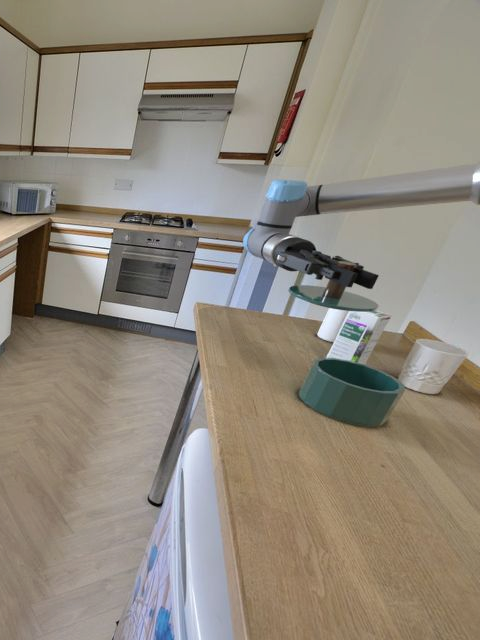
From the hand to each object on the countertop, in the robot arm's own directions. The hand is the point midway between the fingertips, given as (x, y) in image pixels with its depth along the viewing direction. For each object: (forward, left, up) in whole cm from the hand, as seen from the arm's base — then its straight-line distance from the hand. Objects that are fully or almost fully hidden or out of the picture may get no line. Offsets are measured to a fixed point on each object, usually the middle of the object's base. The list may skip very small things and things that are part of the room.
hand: (362, 281), depth 78 cm
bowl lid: (+3, -4, -5) cm, 8 cm away
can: (-2, -39, -24) cm, 46 cm away
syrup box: (-5, -20, -24) cm, 32 cm away
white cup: (-18, -20, -24) cm, 37 cm away
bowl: (-5, +4, -24) cm, 25 cm away
